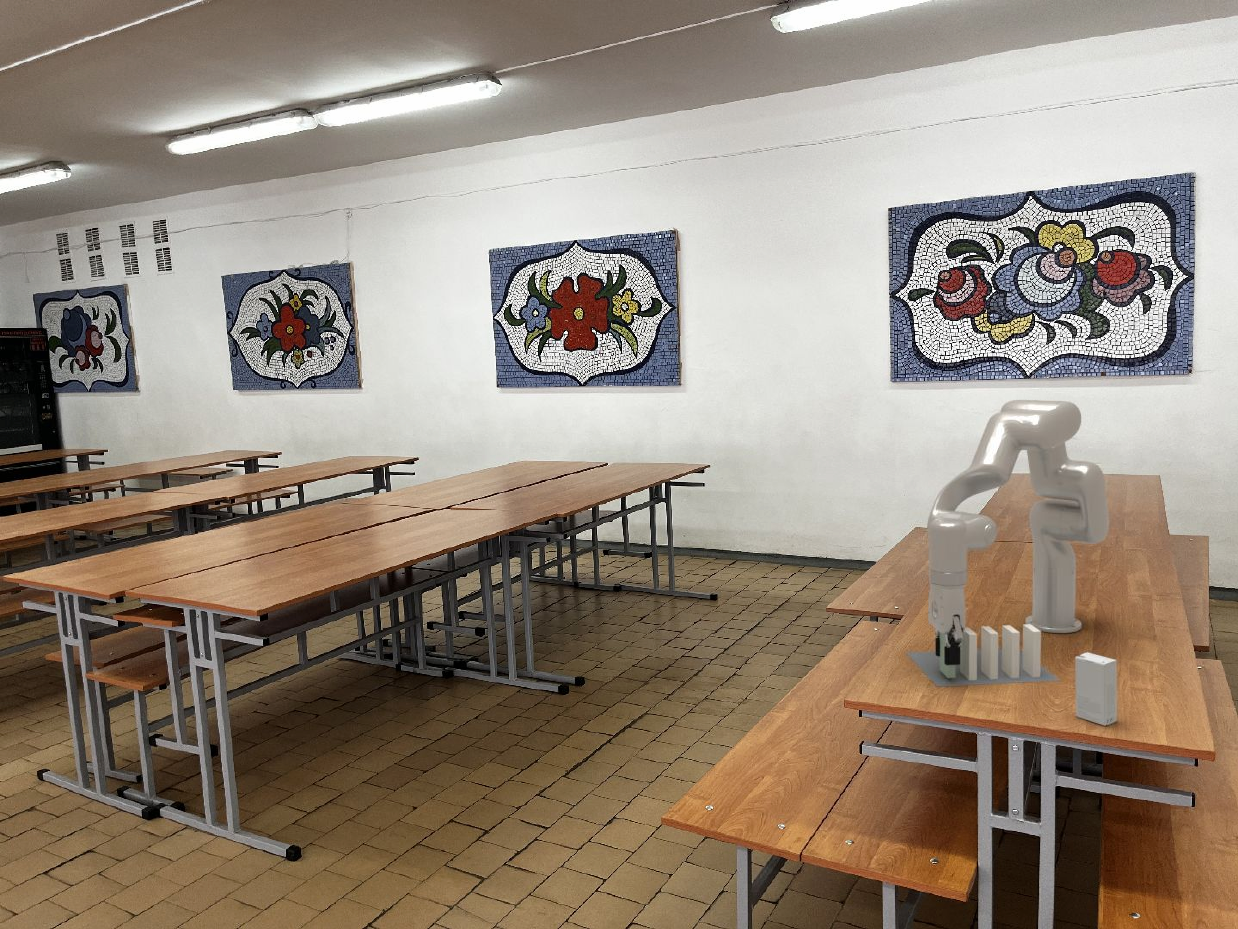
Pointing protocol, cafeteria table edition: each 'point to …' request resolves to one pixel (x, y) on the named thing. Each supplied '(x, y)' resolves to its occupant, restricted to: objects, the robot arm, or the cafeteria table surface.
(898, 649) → the cafeteria table surface
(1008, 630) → the domino
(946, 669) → the domino end
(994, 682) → the slate mat
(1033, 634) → the domino
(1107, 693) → the skincare box
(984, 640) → the domino
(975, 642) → the domino
